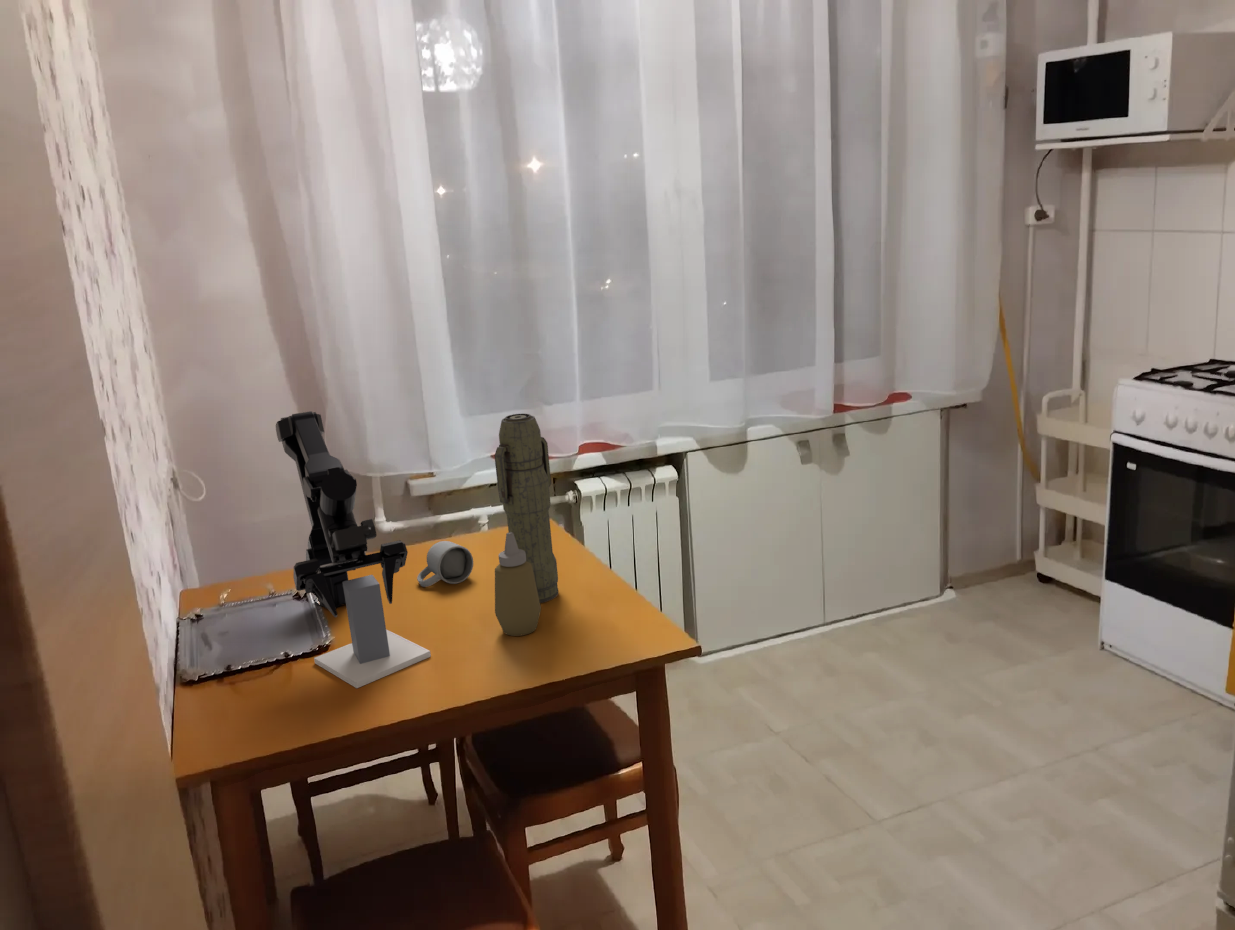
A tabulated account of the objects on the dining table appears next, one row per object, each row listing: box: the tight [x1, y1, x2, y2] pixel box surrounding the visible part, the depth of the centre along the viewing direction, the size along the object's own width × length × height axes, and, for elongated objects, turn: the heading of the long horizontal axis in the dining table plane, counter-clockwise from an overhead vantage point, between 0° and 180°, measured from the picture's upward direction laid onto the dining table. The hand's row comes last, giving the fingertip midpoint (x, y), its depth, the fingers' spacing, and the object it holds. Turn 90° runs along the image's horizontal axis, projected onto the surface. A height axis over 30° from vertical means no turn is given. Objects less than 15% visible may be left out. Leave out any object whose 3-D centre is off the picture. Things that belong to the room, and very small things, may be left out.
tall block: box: [343, 574, 390, 664], centre depth 164 cm, size 5×5×13 cm
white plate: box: [313, 628, 432, 689], centre depth 166 cm, size 14×14×1 cm
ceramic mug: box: [416, 540, 474, 588], centre depth 198 cm, size 11×8×8 cm
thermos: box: [494, 413, 559, 604], centre depth 183 cm, size 9×12×35 cm
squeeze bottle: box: [494, 532, 542, 637], centre depth 171 cm, size 8×8×18 cm
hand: (363, 609), depth 164 cm, fingers open, 9 cm apart
